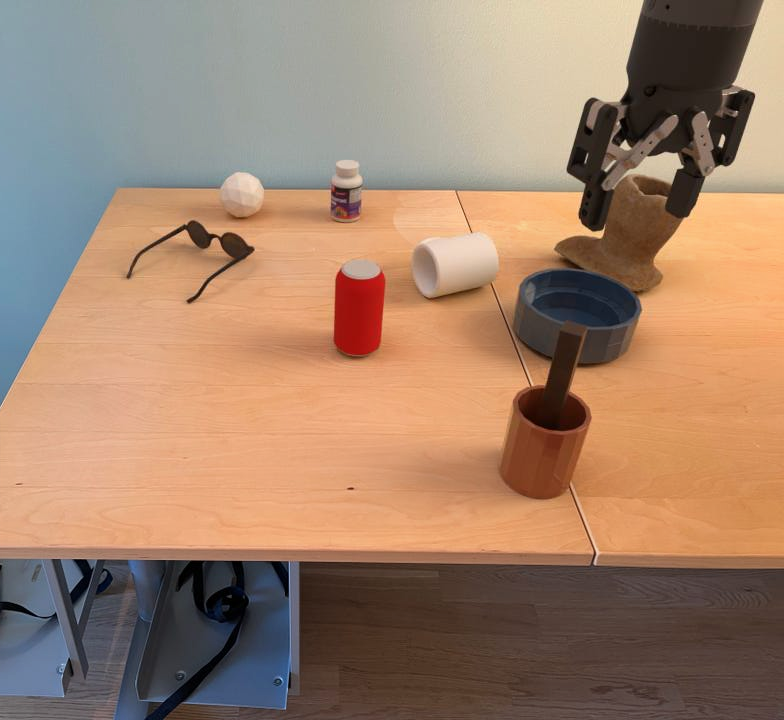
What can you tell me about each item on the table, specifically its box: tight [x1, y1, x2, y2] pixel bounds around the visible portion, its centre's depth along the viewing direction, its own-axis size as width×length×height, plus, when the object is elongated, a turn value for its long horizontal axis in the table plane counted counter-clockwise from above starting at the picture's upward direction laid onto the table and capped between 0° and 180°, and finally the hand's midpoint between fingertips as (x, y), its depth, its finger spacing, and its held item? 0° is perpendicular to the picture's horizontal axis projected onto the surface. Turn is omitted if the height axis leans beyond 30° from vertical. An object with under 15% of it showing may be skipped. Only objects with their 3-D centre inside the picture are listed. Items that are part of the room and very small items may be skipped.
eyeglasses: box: [126, 219, 256, 304], centre depth 107 cm, size 15×15×5 cm
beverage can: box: [333, 259, 386, 357], centre depth 89 cm, size 6×6×12 cm
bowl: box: [512, 267, 643, 364], centre depth 93 cm, size 15×15×6 cm
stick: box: [535, 320, 588, 431], centre depth 68 cm, size 2×2×18 cm
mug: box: [410, 231, 499, 299], centre depth 104 cm, size 12×10×8 cm
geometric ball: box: [219, 171, 265, 218], centre depth 123 cm, size 8×8×8 cm
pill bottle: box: [330, 159, 363, 223], centre depth 122 cm, size 5×5×10 cm
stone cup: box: [553, 173, 685, 292], centre depth 104 cm, size 15×12×15 cm
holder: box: [498, 384, 593, 500], centre depth 71 cm, size 7×7×9 cm
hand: (634, 220), depth 59 cm, fingers open, 8 cm apart
